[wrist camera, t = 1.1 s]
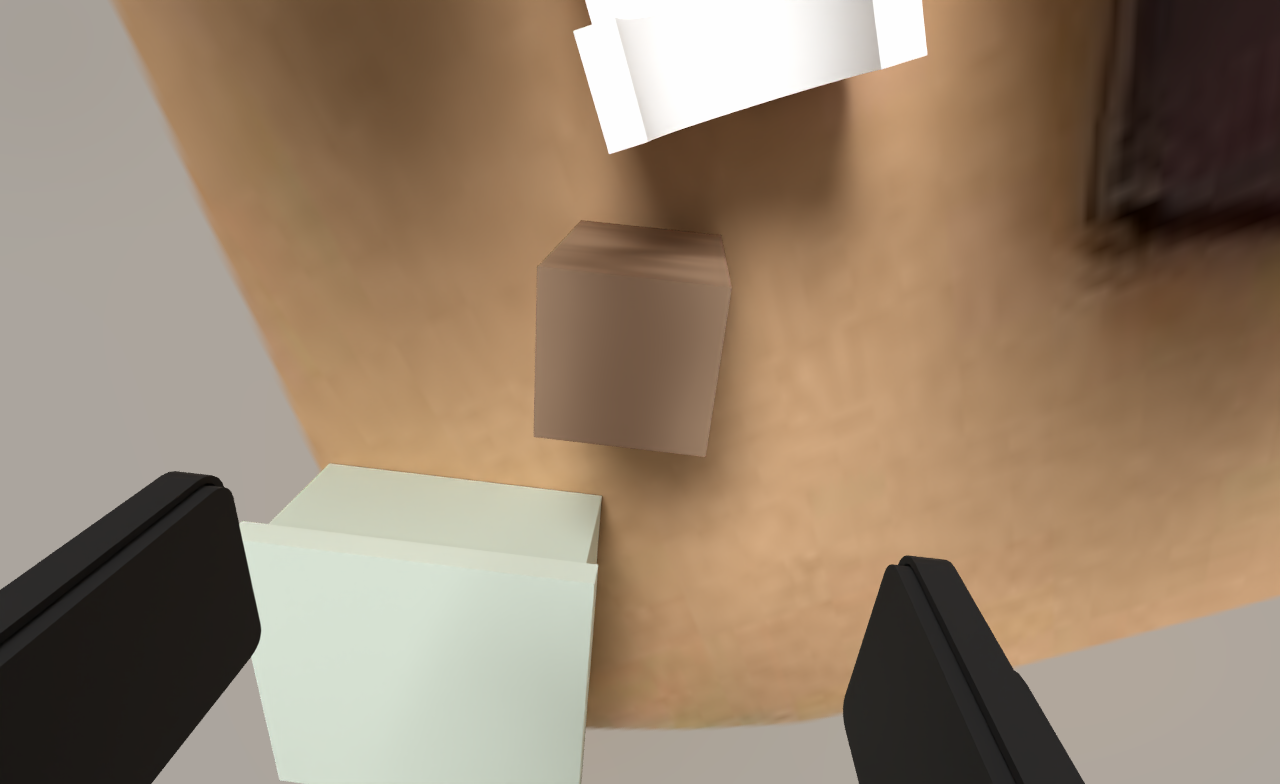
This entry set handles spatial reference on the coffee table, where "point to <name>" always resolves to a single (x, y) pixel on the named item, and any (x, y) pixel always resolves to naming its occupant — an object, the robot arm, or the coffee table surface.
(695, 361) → the walnut block
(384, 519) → the sage box
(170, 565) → the robot arm
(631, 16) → the bracket
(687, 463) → the coffee table surface
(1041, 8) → the coffee table surface
